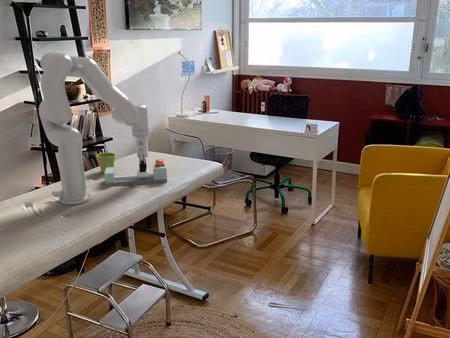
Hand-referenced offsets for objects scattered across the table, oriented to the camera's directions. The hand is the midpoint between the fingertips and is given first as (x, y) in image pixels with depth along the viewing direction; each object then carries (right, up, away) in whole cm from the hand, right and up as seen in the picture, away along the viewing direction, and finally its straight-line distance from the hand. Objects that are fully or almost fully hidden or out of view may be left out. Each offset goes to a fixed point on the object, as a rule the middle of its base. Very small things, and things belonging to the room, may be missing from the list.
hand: (143, 169), depth 208 cm
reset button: (+8, +2, +1) cm, 8 cm away
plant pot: (-21, -1, +15) cm, 25 cm away
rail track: (-3, -5, +1) cm, 6 cm away
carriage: (0, -2, +1) cm, 2 cm away
